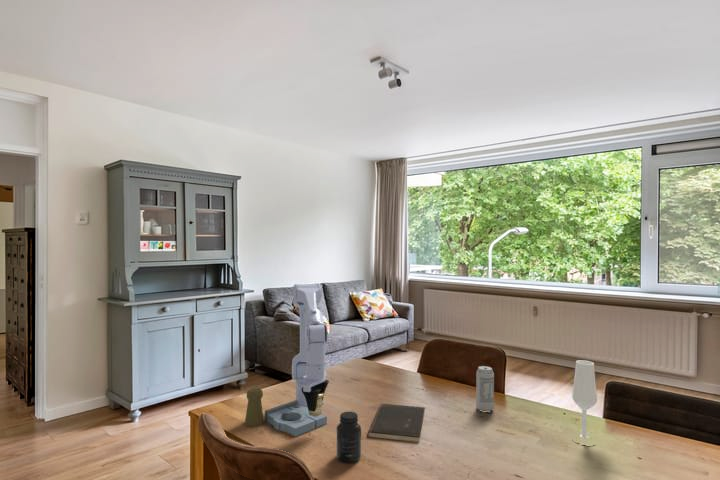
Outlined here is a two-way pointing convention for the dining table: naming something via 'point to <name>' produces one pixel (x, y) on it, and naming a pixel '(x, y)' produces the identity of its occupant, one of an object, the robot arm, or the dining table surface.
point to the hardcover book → (397, 422)
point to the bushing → (318, 406)
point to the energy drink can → (485, 388)
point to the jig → (293, 418)
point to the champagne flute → (584, 389)
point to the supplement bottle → (348, 438)
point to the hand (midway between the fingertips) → (315, 407)
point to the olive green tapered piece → (254, 408)
